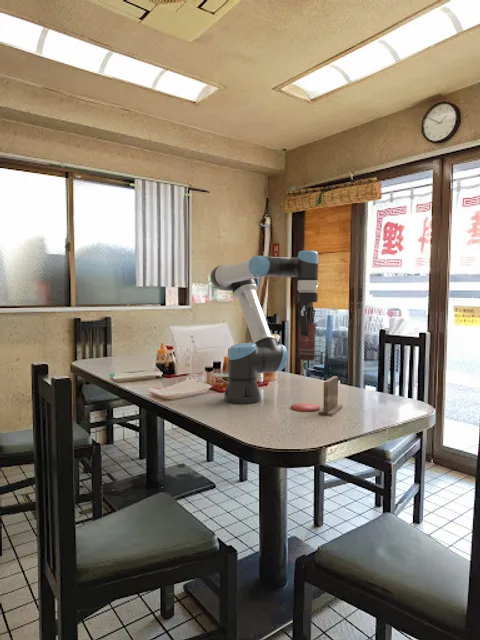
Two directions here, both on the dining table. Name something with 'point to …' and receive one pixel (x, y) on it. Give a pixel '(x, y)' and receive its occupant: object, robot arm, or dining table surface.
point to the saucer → (305, 407)
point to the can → (307, 343)
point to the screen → (330, 397)
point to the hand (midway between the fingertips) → (306, 353)
